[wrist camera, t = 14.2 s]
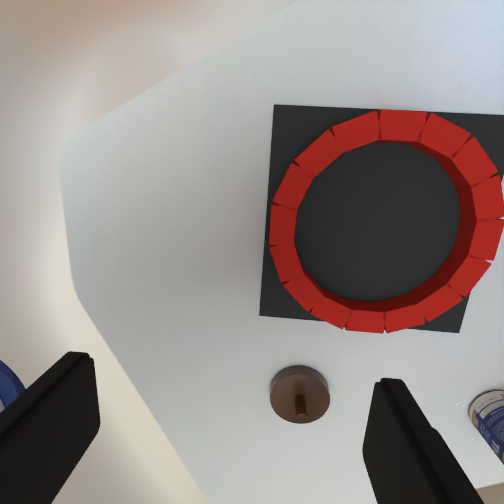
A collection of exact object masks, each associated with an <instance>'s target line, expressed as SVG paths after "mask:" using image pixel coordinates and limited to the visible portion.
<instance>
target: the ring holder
mask: <svg viewBox="0 0 504 504" xmlns="http://www.w3.org/2000/svg"><path fill="white" fill-rule="evenodd" d="M270 402H271V405H272V408H273V409H274V411H275V412H276V413H277V415H279V416H280V417H281V418H283V419H284V420H286V421H289V422H292V423H299V424H303V423H310V422H313V421H315V420H317V419H319V418H320V417H322V416H323V415H324V414H325V412H326V411H327V409H328V407H329V404H330V395H329V390H328V386H327V383H326V381H325V379H324V378H323V376H322V375H321V374H320V373H318V372H317V371H316V370H314V369H312V368H309V367H305V366H292V367H288V368H286V369H283V370H282V371H280V372H279V373H278V374H277V375H276V376H275V377H274V379H273V380H272V383H271V387H270Z"/></svg>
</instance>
